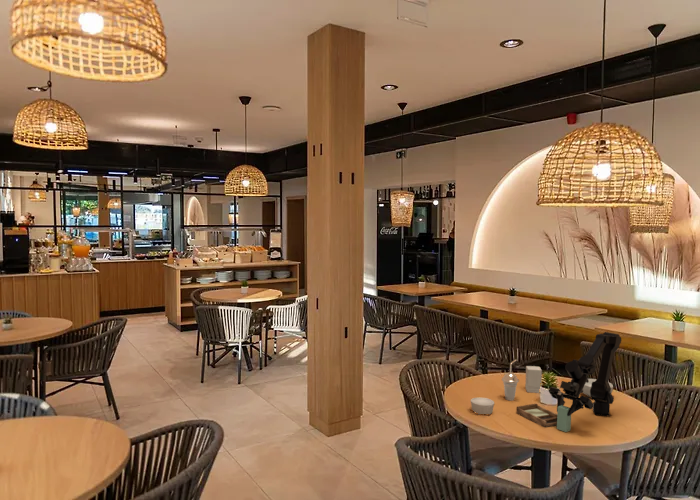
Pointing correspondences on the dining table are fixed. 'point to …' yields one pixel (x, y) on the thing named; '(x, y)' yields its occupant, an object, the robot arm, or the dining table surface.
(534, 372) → the supplement box
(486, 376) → the dining table surface
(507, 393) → the cup with straw
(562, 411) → the block
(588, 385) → the cereal bowl
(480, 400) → the ramekin
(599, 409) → the robot arm
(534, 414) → the tray
